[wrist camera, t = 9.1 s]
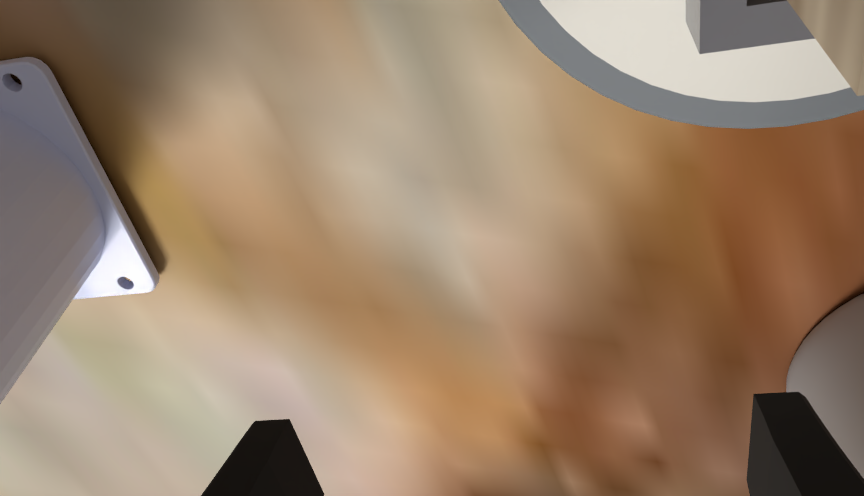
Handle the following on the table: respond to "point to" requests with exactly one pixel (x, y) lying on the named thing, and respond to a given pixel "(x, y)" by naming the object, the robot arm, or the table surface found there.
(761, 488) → the robot arm
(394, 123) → the table surface
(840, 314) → the mug
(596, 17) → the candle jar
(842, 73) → the wooden plank block
